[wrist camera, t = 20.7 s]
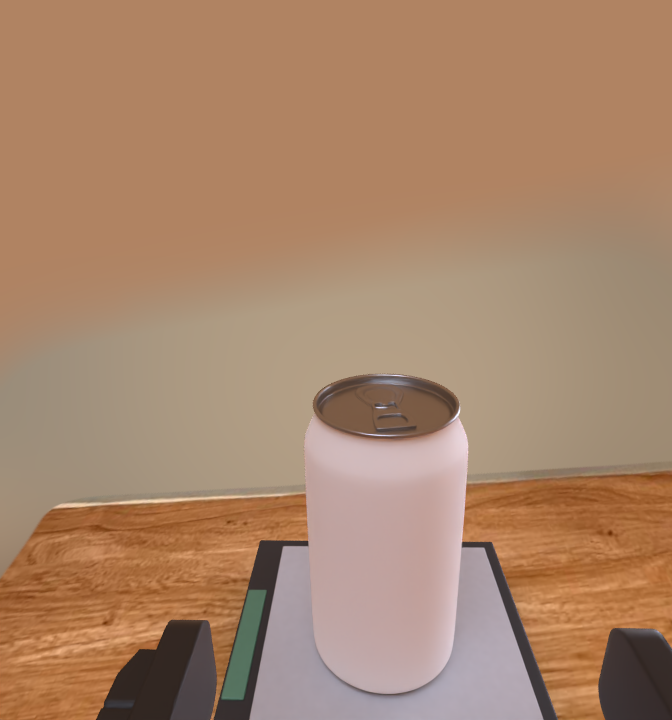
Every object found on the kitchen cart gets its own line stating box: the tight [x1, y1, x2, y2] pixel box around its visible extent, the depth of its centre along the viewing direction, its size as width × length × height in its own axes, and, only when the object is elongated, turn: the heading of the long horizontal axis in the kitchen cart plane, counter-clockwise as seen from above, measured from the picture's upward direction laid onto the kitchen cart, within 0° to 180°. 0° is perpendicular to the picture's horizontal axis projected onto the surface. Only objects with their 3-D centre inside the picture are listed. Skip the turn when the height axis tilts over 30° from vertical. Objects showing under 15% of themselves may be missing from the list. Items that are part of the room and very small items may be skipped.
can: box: [304, 374, 468, 694], centre depth 21 cm, size 6×6×12 cm
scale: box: [214, 540, 558, 720], centre depth 24 cm, size 14×14×3 cm
